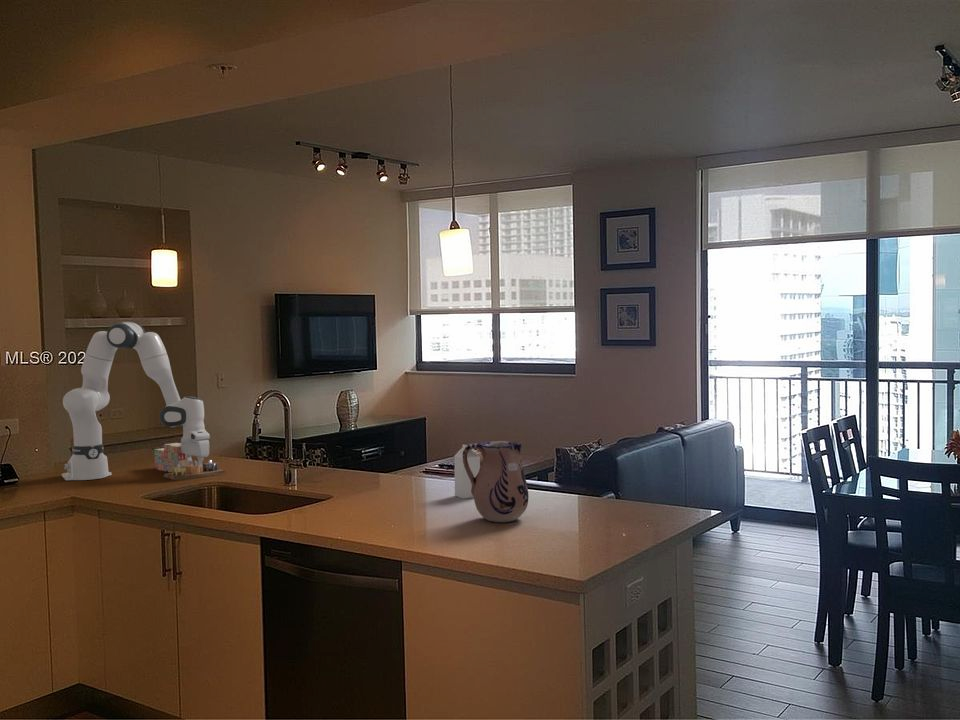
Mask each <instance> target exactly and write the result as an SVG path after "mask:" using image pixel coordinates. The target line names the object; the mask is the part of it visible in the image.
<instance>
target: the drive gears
mask: <svg viewBox="0 0 960 720" xmlns="http://www.w3.org/2000/svg"><path fill="white" fill-rule="evenodd" d="M171 468H172V475H184V474H187V466H181V463H179V464H177V466H175V467H171ZM202 469H203V471H215V470H218V469H219V468H218V462H214V461H213V460H212V459H208V462H205V463H203V462H202Z"/></svg>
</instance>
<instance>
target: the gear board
mask: <svg viewBox="0 0 960 720" xmlns="http://www.w3.org/2000/svg"><path fill="white" fill-rule="evenodd" d="M197 463H198V461H197V460H193V466H197ZM222 473H225V474H226V470H223V469H219V468H218V470H215V471H203V468H202V472H200V473H187V474H184V475H172V473H171V472H168V473H164V475H163V478H167V479H169V480H173V481H183V480H191V479H199V477H200V478H206V477H205V476H207V477H212V476H211V475H215V476H218V475H217V474H222ZM222 475H223V474H222Z"/></svg>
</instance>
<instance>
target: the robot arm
mask: <svg viewBox="0 0 960 720" xmlns="http://www.w3.org/2000/svg"><path fill="white" fill-rule="evenodd" d="M118 349H134V350H135V351H136V352H137V355H138V358H139V359H140V363H141V366H142V369H143V371H144V373H145V375H146V376H147V377H148V378H150V379H152V380H153V381H154V382H156V384H157V385H158V386H159V388H160V390H161V393H162V396H163V398H164V401H165V405H166V406H164V407H163V408H162V409H161V410H160V411H159V416H158V417H159V421H160V423H161V424H162V425H163V426H165V427H167V428H168V427H169V428H175V427H178V426H182V433H183V434H182V437H181V438H180V444H181V453H183V454H186V459H187V464H188V465H192V464H193V461H194V460H193V459H192V457H196V458H197V467H202V468H203V462H204V459H205V458H207V457H208V456H209V455H210V441H209V439H211V436H210V435H211V434H210V433H209V432H208V431H207V430H206V429H205V428H206V426H205V423H204V420H205V405H204V404H205V403H204V401H203V400H202V399H201V397H198V396H192V395H191V396H189V395H187V396H184V397H183V398H181V396H180V394H179V391H178V387H177V385H176V382H175V380H174V376H173V373H172V367H171V364H170V363H171V362H170V358H169V356H168V352H167V349H166V347H165V345H164V343H163V341H162V339H161V337H160V335H159V334H158V333H156V332H154V331H145V328H144V327H143V326H142V325H141V324H140V323H137V322H135V321H123V322H118V323H115V324H113V325H111V326H109V328H108V329H107V331H105V330H100V331H97V332H94V334H93V335H92V338H90V341H89V344H88V346H87V349H86V351H85V355H84V359H83V362H82V365H81V368H80V373H81V375H82V386H81V387H77V388H73V389H71V390H70V391H68V392H67V393H65V395H63V398H62V405H63V408H64V409H65V411H66V412H67V413H68V415H69V418H70V421H71V423H72V424H71V425H72V432H73V434H72V435H73V445H72V451H71V454H72V455H71V457H70V458H69V460H68V461H67V462H66V463H64V466H63V468H64V470H67V472H64V473H61V477H62V478H63V479H64V480H65V481H87V480H98V479H105V478H107V477H108V476H112V475H113V474H112V472H111V471H109V464H108V463H109V462H108V457H107V455H105V454H104V449H105V447H104V444H103V429H102V428H103V427H102V425H101V423H100V422H99V420H98V418H97V414H96V412H98V411H100V410H102V409H104V408H106V407H107V406H108V405H109V403H110V400H111V398H110V397H111V396H110V393H109V391H108V390H109V389H108V386H109V376H110V372H111V369H112V365H113V361H114V358H115V355H116V352H117V350H118Z"/></svg>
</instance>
